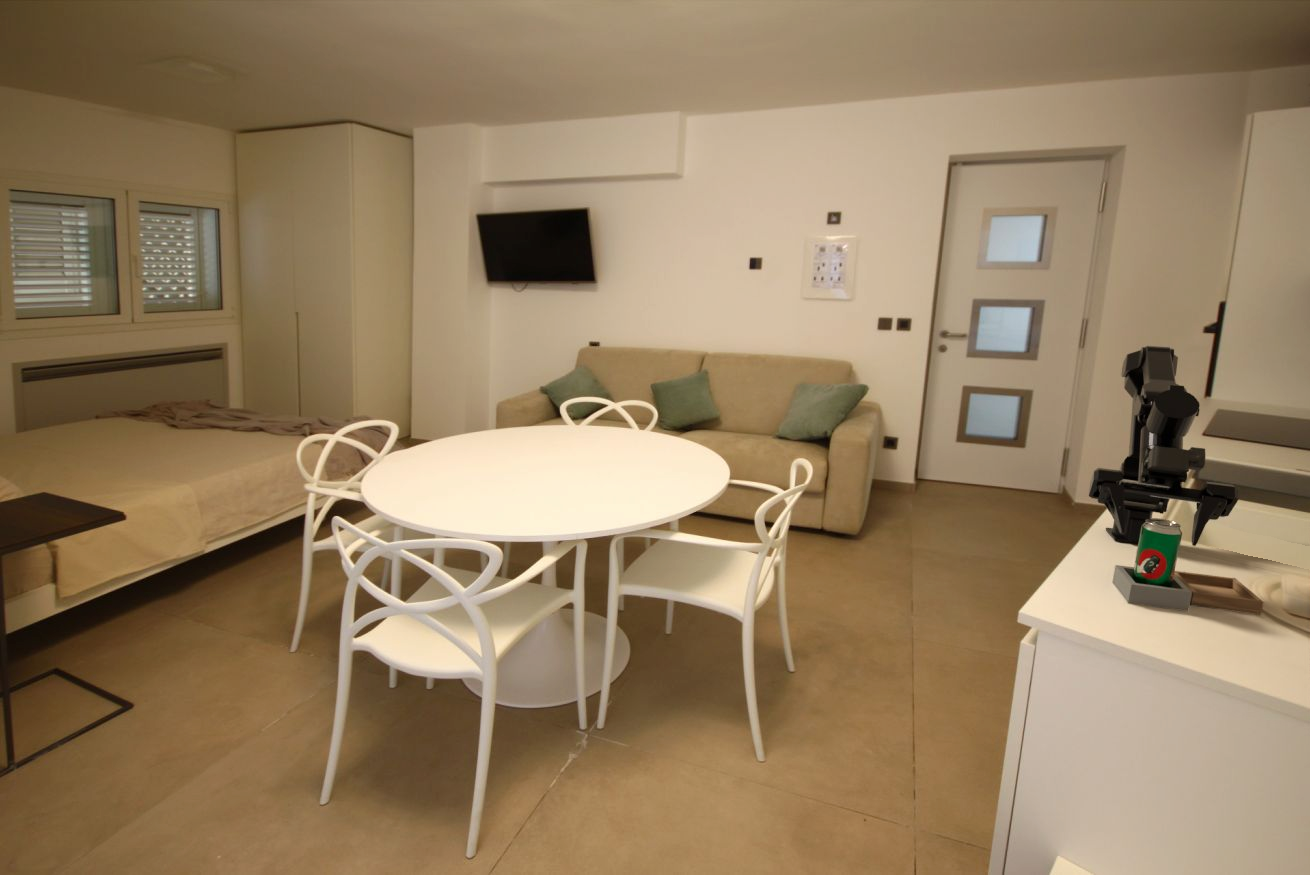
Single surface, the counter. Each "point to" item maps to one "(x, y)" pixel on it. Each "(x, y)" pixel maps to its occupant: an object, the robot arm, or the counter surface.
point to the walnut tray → (1220, 593)
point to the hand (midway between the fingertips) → (1157, 538)
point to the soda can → (1157, 552)
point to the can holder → (1151, 591)
